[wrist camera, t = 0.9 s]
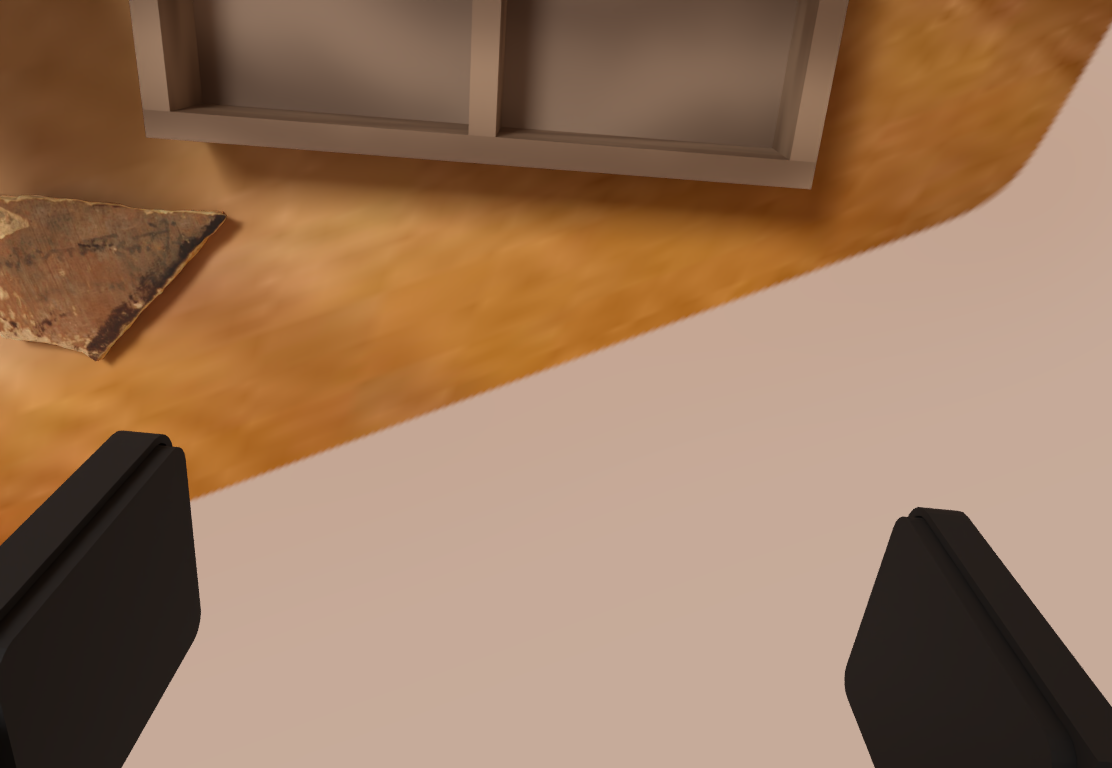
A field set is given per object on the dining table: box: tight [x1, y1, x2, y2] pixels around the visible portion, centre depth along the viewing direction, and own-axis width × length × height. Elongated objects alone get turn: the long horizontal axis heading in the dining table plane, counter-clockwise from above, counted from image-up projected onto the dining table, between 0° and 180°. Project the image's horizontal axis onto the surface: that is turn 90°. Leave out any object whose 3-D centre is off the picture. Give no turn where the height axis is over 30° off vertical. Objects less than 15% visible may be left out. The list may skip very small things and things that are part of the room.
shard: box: [0, 195, 227, 361], centre depth 38 cm, size 11×8×2 cm
